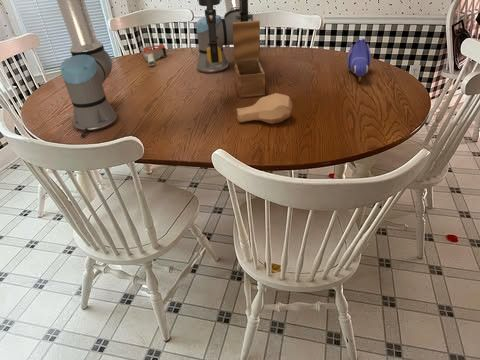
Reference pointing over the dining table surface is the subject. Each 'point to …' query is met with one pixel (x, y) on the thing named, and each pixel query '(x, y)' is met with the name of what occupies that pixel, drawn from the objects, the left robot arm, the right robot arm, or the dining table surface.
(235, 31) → the lid
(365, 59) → the toy
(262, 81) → the wooden box
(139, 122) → the dining table surface
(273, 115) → the squash
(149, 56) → the tape dispenser
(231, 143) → the dining table surface
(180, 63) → the dining table surface
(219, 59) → the block
